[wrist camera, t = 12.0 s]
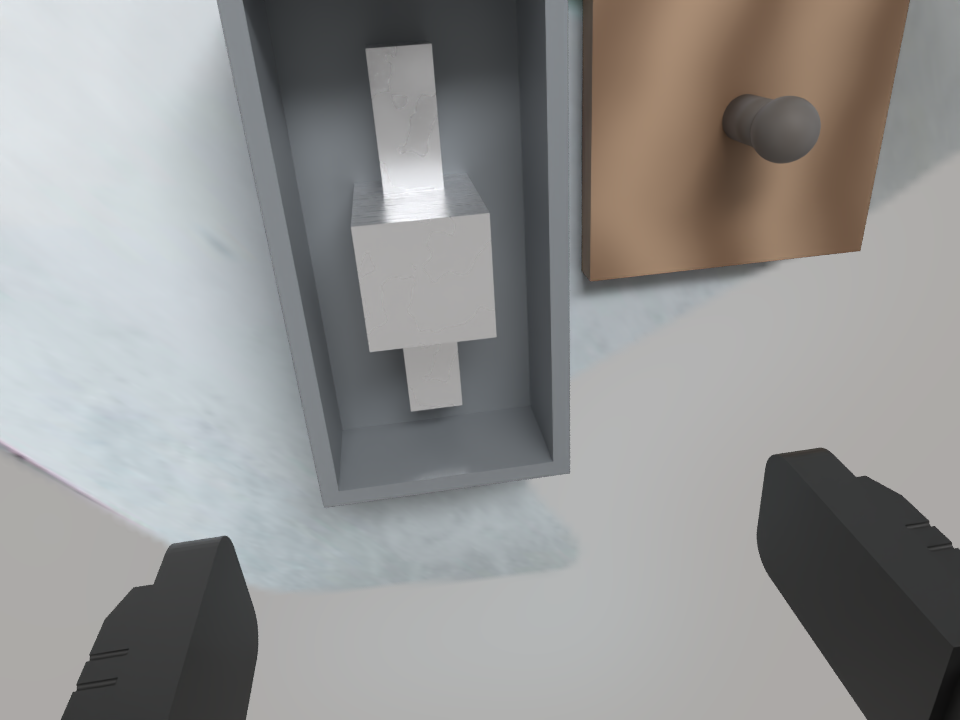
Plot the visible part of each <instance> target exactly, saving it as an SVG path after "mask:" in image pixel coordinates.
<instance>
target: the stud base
mask: <svg viewBox="0 0 960 720" xmlns="http://www.w3.org/2000/svg"><path fill="white" fill-rule="evenodd" d="M909 2H910V0H583V91H582V272H583V273H584V275H585V276H586V277H587V278H588V280H589V281H599V280H608V279H616V278H625V277H634V276H643V275H652V274H661V273H670V272H678V271H687V270H696V269H705V268H714V267H723V266H731V265H740V264H749V263H758V262H767V261H776V260H784V259H793V258H802V257H811V256H819V255H829V254H837V253H846V252H855V251H860V250H861V245H862V240H863V235H864V229H865V225H866V219H867V215H868V210H869V204H870V199H871V194H872V189H873V184H874V179H875V174H876V169H877V164H878V159H879V154H880V149H881V144H882V139H883V133H884V128H885V123H886V118H887V113H888V108H889V103H890V98H891V93H892V88H893V83H894V78H895V73H896V68H897V63H898V57H899V52H900V47H901V42H902V37H903V32H904V27H905V22H906V17H907V12H908V7H909Z"/></svg>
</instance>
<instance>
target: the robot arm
mask: <svg viewBox="0 0 960 720" xmlns="http://www.w3.org/2000/svg"><path fill="white" fill-rule="evenodd" d="M757 544H758V550H759V554H760V558H761V561H762V563H763V566H764V568H765V570H766V572H767V573H768V575H769V577H770V578H771V580H772V581H773V582H774V584H775V585H776V587H777V588H778V590H779V591H780V593H781V594H782V595H783V597H784V599H785V600H786V601H787V603H788V604H789V606H790V607H791V609H792V610H793V612H794V613H795V614H796V616H797V618H798V619H799V621H800V622H801V623H802V625H803V626H804V628H805V629H806V631H807V632H808V634H809V635H810V637H811V638H812V640H813V641H814V642H815V644H816V645H817V647H818V648H819V650H820V651H821V653H822V654H823V656H824V657H825V659H826V660H827V661H828V663H829V664H830V666H831V667H832V669H833V670H834V672H835V673H836V675H837V676H838V678H839V679H840V680H841V682H842V683H843V685H844V686H845V688H846V689H847V691H848V692H849V694H850V695H851V697H852V698H853V699H854V701H855V702H856V704H857V705H858V707H859V708H860V710H861V711H862V713H863V714H864V716H865V717H866V719H867V720H960V550H959V549H958V548H955V549H954V548H953V546H952V542H951V541H950V540H949V539H948V538H947V537H945V535H943V534H942V533H941V532H940V531H939V530H938V529H937V528H936V527H935V526H933V527H931V526H930V524H929V520H928V519H926V518H925V517H924V516H923V515H922V514H921V513H920V512H919V511H918V510H917V509H916V508H915V507H914V506H913V505H912V504H910V503H909V502H908V501H907V500H906V499H905V498H904V497H903V496H902V495H900V494H898V493H896V492H894V491H893V490H891V489H889V488H887V487H885V486H884V485H881V484H880V483H878V482H876V481H874V480H872V479H871V478H869V477H867V476H861V477H855V476H854V475H853V474H852V473H851V472H850V471H849V470H848V469H847V468H846V467H845V466H844V465H843V464H842V463H841V462H840V461H839V460H838V459H837V458H836V457H835V456H834V455H833V454H832V453H831V452H830V451H828V450H827V449H824V448H815V449H809V450H802V451H795V452H788V453H782V454H775V455H772V456H771V457H770V458H769V459H768V461H767V463H766V468H765V475H764V482H763V490H762V497H761V505H760V512H759V519H758V527H757ZM257 654H258V626H257V619H256V614H255V611H254V607H253V604H252V601H251V598H250V595H249V592H248V588H247V585H246V582H245V579H244V576H243V573H242V570H241V567H240V564H239V561H238V558H237V555H236V552H235V549H234V546H233V543H232V541H231V540H230V538H229V537H227V536H221V537H214V538H208V539H201V540H194V541H188V542H181V543H174V544H172V545H170V546H169V548H168V549H167V551H166V553H165V556H164V559H163V561H162V564H161V566H160V569H159V572H158V574H157V577H156V580H155V582H154V584H153V585H147V586H140V587H135V588H133V589H132V590H131V591H130V592H129V593H128V594H127V595H126V597H125V598H124V599H123V600H122V601H121V602H120V603H119V604H118V605H117V607H116V608H115V609H114V610H113V611H112V612H111V614H109V616H108V617H107V618H106V619H105V620H104V623H103V625H102V627H101V630H100V632H99V634H98V636H97V639H96V641H95V643H94V646H93V648H92V650H91V652H90V661H88V662H86V664H85V666H84V668H83V671H82V673H81V675H80V677H79V680H78V682H77V691H76V692H73V693H72V695H71V698H70V700H69V702H68V705H67V707H66V709H65V711H64V714H63V716H62V718H61V720H246V715H247V710H248V704H249V699H250V693H251V688H252V682H253V677H254V671H255V666H256V660H257Z"/></svg>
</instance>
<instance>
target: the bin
mask: <svg viewBox="0 0 960 720" xmlns="http://www.w3.org/2000/svg"><path fill="white" fill-rule="evenodd" d="M217 4H218V9H219V14H220V18H221V23H222V28H223V33H224V37H225V42H226V47H227V52H228V56H229V61H230V66H231V70H232V75H233V80H234V85H235V89H236V94H237V99H238V104H239V108H240V113H241V118H242V122H243V127H244V132H245V137H246V141H247V146H248V151H249V156H250V160H251V165H252V170H253V174H254V179H255V184H256V189H257V193H258V198H259V203H260V208H261V212H262V217H263V222H264V226H265V231H266V236H267V241H268V245H269V250H270V255H271V260H272V264H273V269H274V274H275V278H276V283H277V288H278V293H279V297H280V302H281V307H282V312H283V316H284V321H285V326H286V330H287V335H288V340H289V345H290V349H291V354H292V359H293V364H294V368H295V373H296V378H297V382H298V387H299V392H300V397H301V401H302V406H303V411H304V416H305V420H306V425H307V430H308V434H309V439H310V444H311V449H312V453H313V458H314V463H315V468H316V472H317V477H318V482H319V486H320V491H321V496H322V501H323V505H324V508H326V507H333V506H340V505H347V504H354V503H361V502H368V501H375V500H383V499H390V498H397V497H404V496H411V495H418V494H425V493H433V492H440V491H447V490H454V489H461V488H468V487H475V486H483V485H490V484H497V483H504V482H511V481H518V480H525V479H532V478H540V477H547V476H554V475H561V474H568V473H570V341H569V108H568V0H217ZM416 41H428V42H430V43H431V44H432V54H433V66H434V77H435V89H436V101H437V112H438V124H439V136H440V148H441V159H442V171H443V175H451V174H462V173H467V175H468V177H469V178H470V180H471V182H472V184H473V185H474V187H475V189H476V190H477V192H478V194H479V196H480V197H481V199H482V201H483V202H484V204H485V206H486V208H487V209H488V211H489V213H490V228H491V246H492V264H493V282H494V300H495V318H496V335H497V337H494V338H486V339H477V340H469V341H460V342H457V347H458V358H459V370H460V382H461V394H462V405H459V406H451V407H443V408H435V409H428V410H420V411H412V412H411V408H410V400H409V392H408V384H407V376H406V368H405V360H404V352H403V348H401V349H393V350H384V351H376V352H370V351H369V344H368V337H367V331H366V324H365V318H364V311H363V304H362V298H361V291H360V284H359V278H358V271H357V265H356V258H355V251H354V245H353V238H352V231H351V218H352V206H353V193H354V184H356V183H366V182H377V181H382V177H381V169H380V161H379V153H378V145H377V137H376V129H375V121H374V114H373V106H372V98H371V90H370V82H369V74H368V66H367V58H366V50H365V46H366V45H376V44H389V43H402V42H416Z"/></svg>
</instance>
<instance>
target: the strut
mask: <svg viewBox="0 0 960 720" xmlns="http://www.w3.org/2000/svg"><path fill="white" fill-rule="evenodd" d="M365 50H366V58H367V66H368V74H369V82H370V90H371V98H372V106H373V114H374V121H375V129H376V137H377V145H378V153H379V161H380V169H381V177H382V181H377V182H366V183H356V184H354V193H353V206H352V218H351V231H352V238H353V245H354V251H355V258H356V265H357V271H358V278H359V284H360V291H361V298H362V304H363V311H364V318H365V324H366V331H367V337H368V344H369V351H370V352H376V351H384V350H393V349H401V348H403V352H404V360H405V368H406V376H407V384H408V392H409V400H410V408H411V412H412V411H420V410H428V409H435V408H443V407H451V406H459V405H462V394H461V382H460V370H459V358H458V347H457V342H460V341H469V340H477V339H486V338H494V337H497V335H496V318H495V300H494V282H493V264H492V246H491V228H490V213H489V211H488V209H487V208H486V206H485V204H484V202H483V201H482V199H481V197H480V196H479V194H478V192H477V190H476V189H475V187H474V185H473V184H472V182H471V180H470V178H469V177H468V175H467V173H462V174H451V175H443V171H442V159H441V148H440V136H439V124H438V112H437V101H436V89H435V77H434V66H433V54H432V44H431V43H430V42H428V41H416V42H402V43H389V44H376V45H366V46H365Z"/></svg>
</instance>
